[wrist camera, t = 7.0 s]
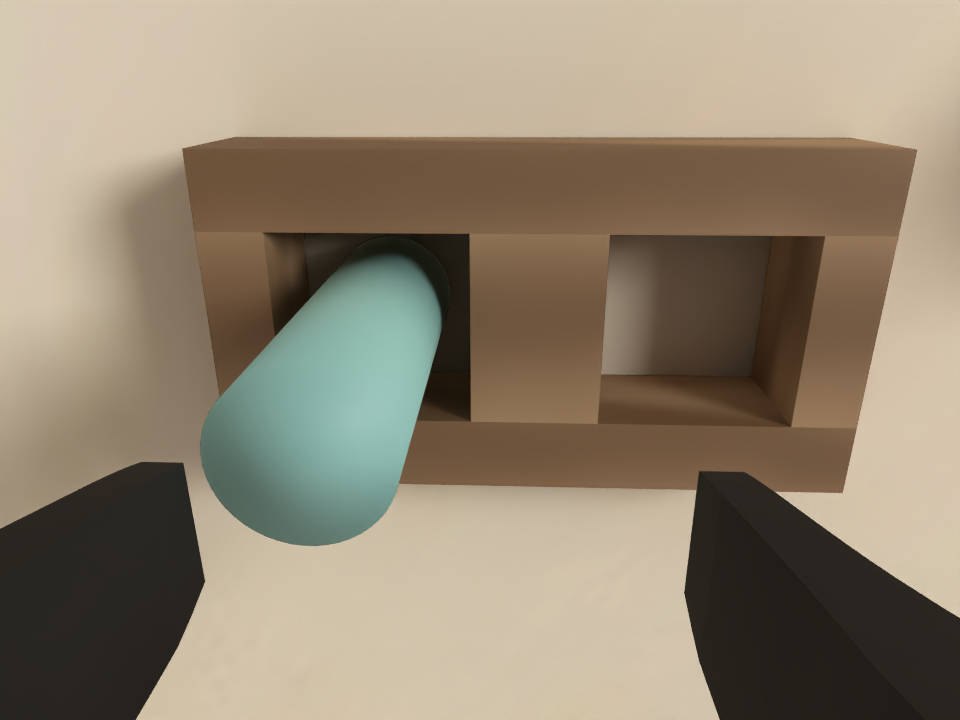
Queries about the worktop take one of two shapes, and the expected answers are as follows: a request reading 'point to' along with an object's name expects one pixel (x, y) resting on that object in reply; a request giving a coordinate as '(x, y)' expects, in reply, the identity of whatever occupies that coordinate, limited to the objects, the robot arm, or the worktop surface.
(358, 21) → the worktop surface
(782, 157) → the hole block
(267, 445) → the peg
